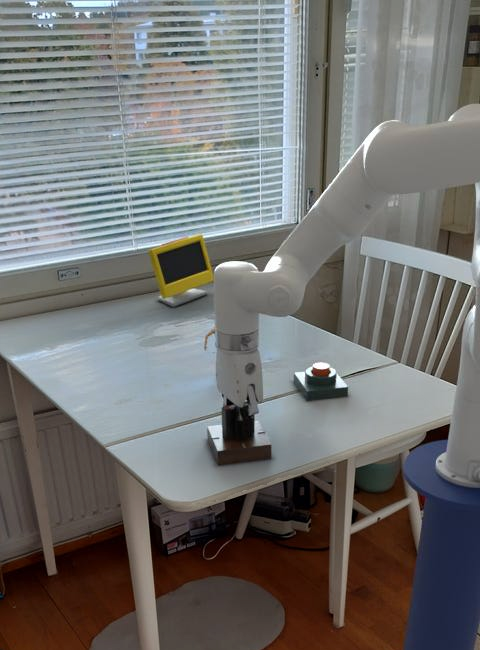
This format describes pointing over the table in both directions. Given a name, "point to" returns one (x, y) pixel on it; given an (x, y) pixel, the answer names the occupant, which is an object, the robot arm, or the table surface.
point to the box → (320, 385)
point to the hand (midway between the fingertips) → (238, 432)
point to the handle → (231, 421)
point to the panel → (239, 446)
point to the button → (321, 369)
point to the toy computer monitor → (181, 269)
